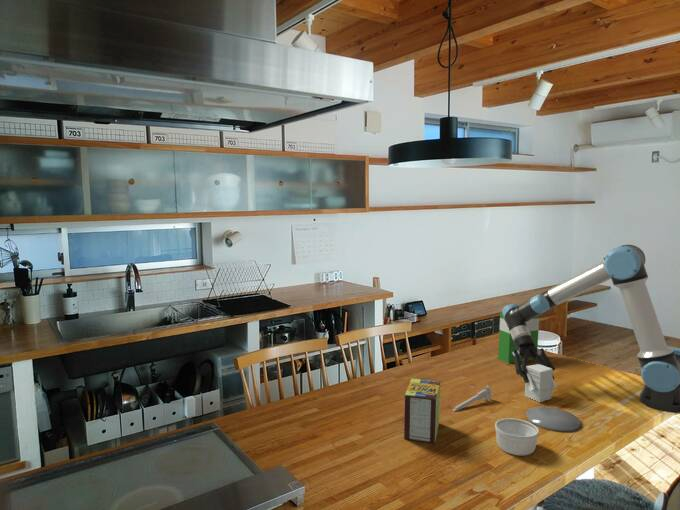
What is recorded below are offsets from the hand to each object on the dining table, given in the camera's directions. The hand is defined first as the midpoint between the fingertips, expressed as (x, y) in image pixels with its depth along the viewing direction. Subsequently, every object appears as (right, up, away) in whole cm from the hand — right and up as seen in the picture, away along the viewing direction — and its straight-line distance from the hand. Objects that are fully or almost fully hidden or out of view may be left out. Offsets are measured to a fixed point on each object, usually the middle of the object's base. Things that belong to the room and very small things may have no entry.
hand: (543, 389), depth 192 cm
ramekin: (-24, -9, -35) cm, 43 cm away
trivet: (-3, -7, -16) cm, 17 cm away
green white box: (+8, +1, +51) cm, 52 cm away
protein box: (-52, -8, -25) cm, 58 cm away
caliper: (-29, -6, -3) cm, 30 cm away
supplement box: (-1, -5, +4) cm, 6 cm away
